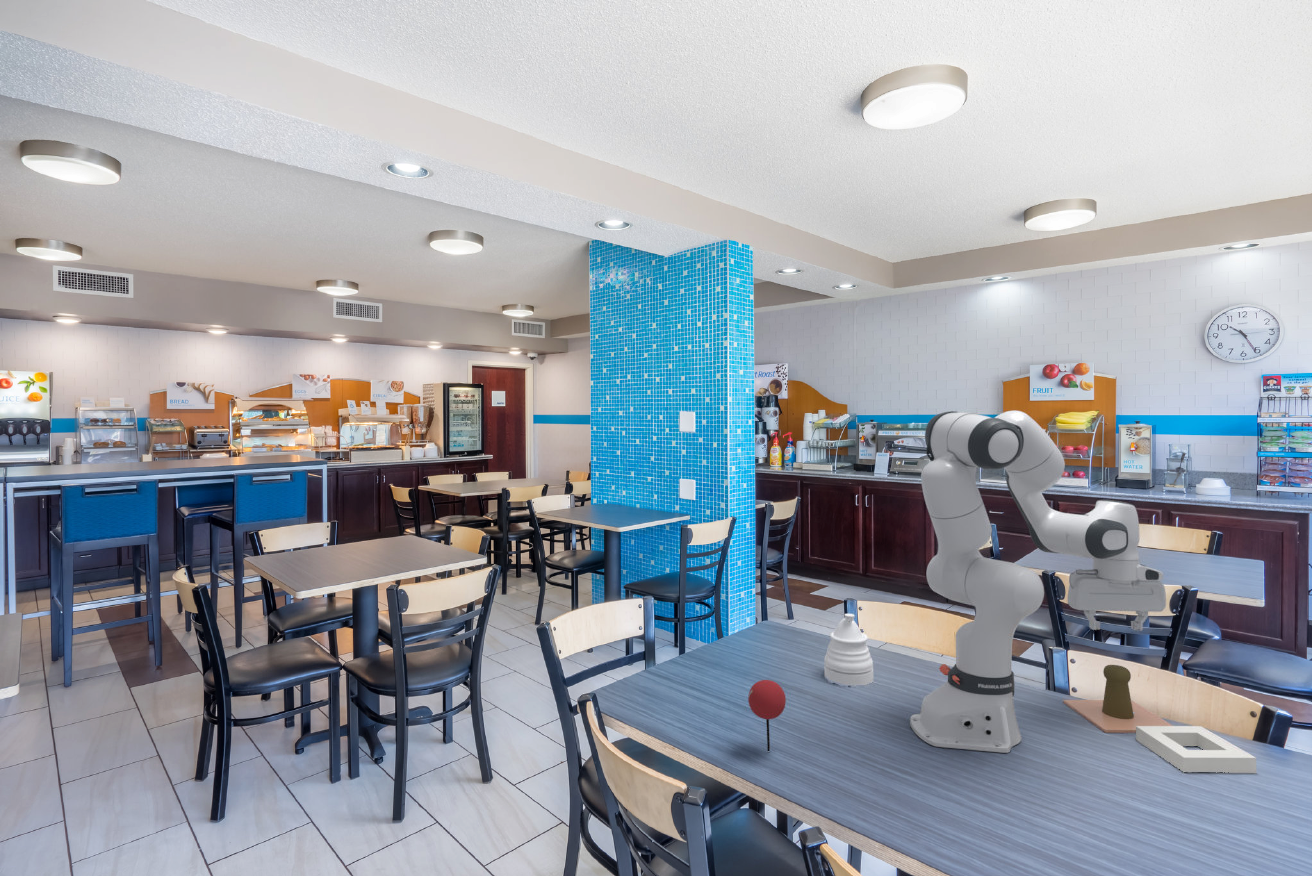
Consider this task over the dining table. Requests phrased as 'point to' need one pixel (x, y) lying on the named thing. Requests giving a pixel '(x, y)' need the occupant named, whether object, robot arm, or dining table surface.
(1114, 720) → the terracotta tile
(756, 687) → the lollipop
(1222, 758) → the frame
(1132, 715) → the olive pawn
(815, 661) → the dining table surface
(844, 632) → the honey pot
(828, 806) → the dining table surface
